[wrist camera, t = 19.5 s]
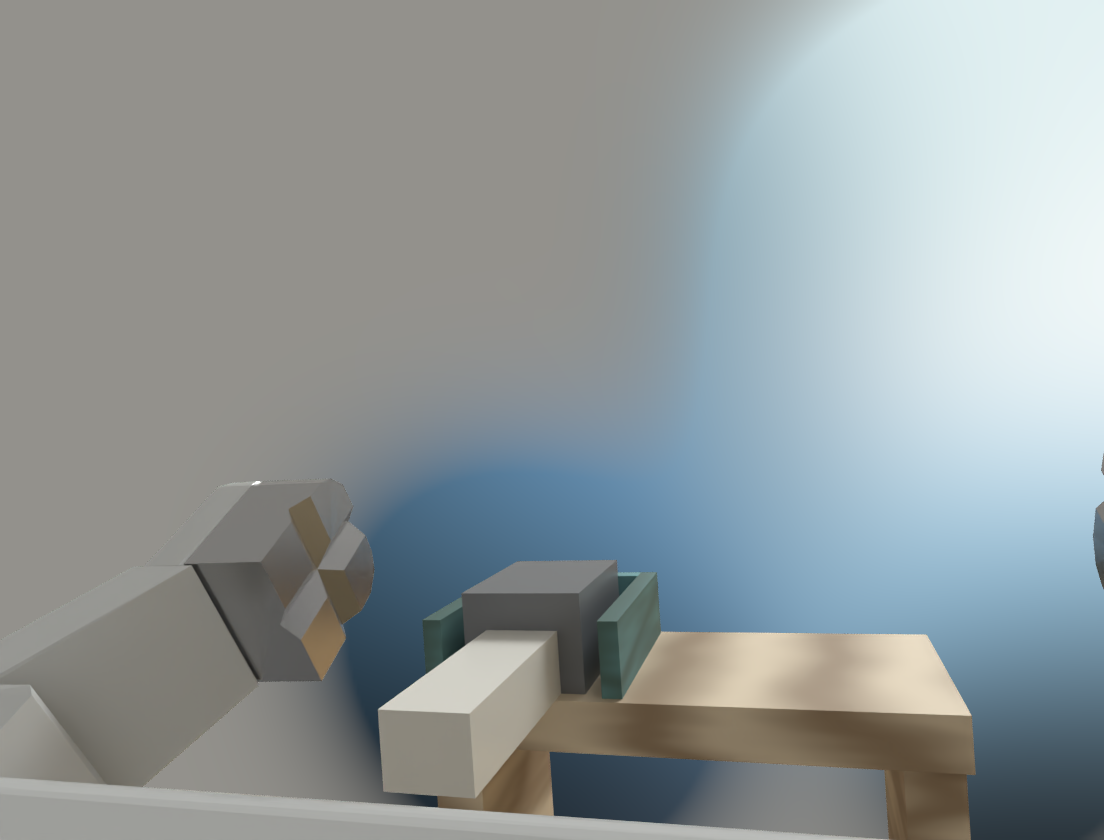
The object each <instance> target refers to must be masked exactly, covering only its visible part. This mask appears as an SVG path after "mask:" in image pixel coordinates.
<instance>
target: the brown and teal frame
mask: <svg viewBox="0 0 1104 840" xmlns="http://www.w3.org/2000/svg"><path fill="white" fill-rule="evenodd" d="M618 586H619V597H618V598H617V600H616V601H615V602H614V603H613V604H612V605H611V606H610V607H609V608H608V610H607V611H606V612H605V613H604V614H603V615H602V616H601V617H600V618H599V619H598V621H597V631H598V646H599V661H600V675H599V677H598V678H597V679H596V681H595V682H594V683H593V685H592V686H591V687H590V689H589V690H588V692H587V693H586V694H560V696H559V697H558V698H557V699H556V700H555V702H554V703H553V704H552V705H551V707H550V708H549V709H548V710H547V711H546V713H545V714H544V715H543V716H542V718H541V719H540V720H539V721H538V722H537V724H536V725H535V726H534V727H533V729H532V730H531V731H530V732H529V733H528V735H527V736H526V737H525V738H524V740H523V741H522V742H521V743H520V744H519V746H518V747H517V748H516V749H515V751H514V752H513V753H512V754H511V755H510V757H509V758H508V759H507V760H506V762H505V763H504V764H503V765H502V767H501V768H500V769H499V770H498V771H497V773H496V774H495V775H494V776H493V778H492V779H491V780H490V781H489V782H488V784H487V785H486V786H485V787H484V789H483V790H482V791H481V792H480V793H479V795H478V796H477V797H476V798H475V799H474V798H461V797H448V796H438V808H448V809H462V810H476V811H490V812H504V813H519V814H533V815H547V816H554V815H553V800H552V785H551V770H550V755H549V751H550V752H569V753H587V754H605V755H623V756H641V757H659V758H677V759H696V760H715V761H732V762H750V763H769V764H787V765H806V766H825V767H843V768H861V769H878V770H885V785H886V802H887V817H888V832H889V840H971V838H970V823H969V807H968V793H967V777H966V774H969V775H975V761H974V745H973V731H972V716H971V714H970V712H969V710H968V708H967V707H966V705H965V703H964V702H963V700H962V698H961V696H960V694H959V692H958V691H957V689H956V687H955V685H954V683H953V681H952V680H951V678H950V676H949V674H948V672H947V671H946V669H945V667H944V665H943V663H942V662H941V660H940V658H939V656H938V654H937V653H936V651H935V649H934V647H933V646H932V644H931V642H930V641H929V638H928V637H927V635H903V634H895V635H894V634H812V633H810V634H809V633H720V632H719V633H718V632H661V628H660V613H659V598H658V582H657V573H656V572H646V573H645V572H642V573H618ZM423 636H424V651H425V665H426V674H427V673H429V672H430V671H431V670H433V669H434V668H435V667H437V666H438V665H440V664H441V663H442V662H444V661H445V660H446V659H448V658H449V657H450V656H452V655H453V654H455V653H456V652H457V651H459V650H460V649H461V648H463V647H464V646H465V637H464V622H463V608H462V597H461V598H459V599H458V600H456V601H454V602H453V603H451V604H449V605H447V606H445V607H444V608H442V609H440V610H439V611H437V612H436V613H434V614H432V615H430V616H429V617H427V618H425V619H423Z"/></svg>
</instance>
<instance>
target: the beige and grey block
mask: <svg viewBox="0 0 1104 840" xmlns="http://www.w3.org/2000/svg"><path fill="white" fill-rule="evenodd" d="M618 597H619V586H618V572H617V560H594V561H593V560H591V561H590V560H589V561H521V562H520V561H518V562H516V563H514V564H512V565H511V566H509V567H507V568H505V569H504V570H502V571H500V572H498V573H497V574H495V575H493V576H492V577H490V578H488V579H486V580H484V581H483V582H481V583H479V584H477V585H475V586H474V587H472V588H470V589H468V590H467V591H465V592H463V593H462V608H463V622H464V637H465V646H464V647H463V648H461V649H460V650H459V651H457V652H456V653H455V654H453V655H452V656H450V657H449V658H448V659H446V660H445V661H444V662H442V663H441V664H440V665H438V666H437V667H435V668H434V669H433V670H431V671H430V672H429V673H427V674H426V675H425V676H423V677H422V678H420V679H419V680H418V681H417V682H415V683H414V684H412V685H411V686H410V687H408V688H407V689H405V690H404V691H403V692H401V693H400V694H399V695H397V696H396V697H394V698H393V699H392V700H390V701H389V702H388V703H386V704H385V705H384V706H382V707H381V708H379V709H378V716H379V730H380V746H381V761H382V775H383V790H384V792H397V793H409V794H422V795H435V796H448V797H461V798H474V799H475V798H476V797H477V796H478V795H479V793H480V792H481V791H482V790H483V789H484V787H485V786H486V785H487V784H488V782H489V781H490V780H491V779H492V778H493V776H494V775H495V774H496V773H497V771H498V770H499V769H500V768H501V767H502V765H503V764H504V763H505V762H506V760H507V759H508V758H509V757H510V755H511V754H512V753H513V752H514V751H515V749H516V748H517V747H518V746H519V744H520V743H521V742H522V741H523V740H524V738H525V737H526V736H527V735H528V733H529V732H530V731H531V730H532V729H533V727H534V726H535V725H536V724H537V722H538V721H539V720H540V719H541V718H542V716H543V715H544V714H545V713H546V711H547V710H548V709H549V708H550V707H551V705H552V704H553V703H554V702H555V700H556V699H557V698H558V697H559V696H560V694H586V693H587V692H588V690H589V689H590V687H591V686H592V685H593V683H594V682H595V681H596V679H597V678H598V677H599V675H600V661H599V646H598V631H597V621H598V619H599V618H600V617H601V616H602V615H603V614H604V613H605V612H606V611H607V610H608V608H609V607H610V606H611V605H612V604H613V603H614V602H615V601H616V600H617V598H618Z"/></svg>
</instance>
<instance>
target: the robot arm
mask: <svg viewBox="0 0 1104 840" xmlns="http://www.w3.org/2000/svg"><path fill="white" fill-rule="evenodd" d="M1101 471H1102V473H1103V475H1104V456H1103V462H1102V468H1101ZM352 509H353V505H352V503H351V501H350V499H349V497H348V494H347V492H346V490H345V488H344V486H343V485H342V484H341V483H338V482H336V481H335V480H332V479H310V480H282V481H263V482H258V481H254V482H240V483H230V484H226V485H223V486H219V487H217V488H216V489H215V491H213V492H212V494H211V495H210V496H209V497H208V498H207V499H206V500H205V501H204V502H203V503H202V504H201V505H200V507H199V508H198V509H197V510H196V511H195V512H194V513H193V514H192V515H191V516H190V517H189V518H188V519H187V521H186V522H185V523H184V524H183V525H182V526H181V527H180V528H179V529H178V530H177V531H176V532H175V533H174V534H173V536H172V537H171V538H170V539H169V540H168V541H167V542H166V543H165V544H164V545H163V546H162V547H161V548H160V550H159V551H158V552H157V553H156V554H155V555H154V556H153V557H152V558H151V559H150V560H149V562H148V563H147V564H146V565H145V566H140V567H132V568H130V569H128V570H127V571H125V572H123V573H121V574H119V575H117V576H116V577H114V578H112V579H111V580H108V581H107V582H105V583H103V584H101V585H99V586H97V587H96V588H94V589H92V590H90V591H88V592H87V593H85V594H83V595H81V596H79V597H77V598H76V599H74V600H72V601H70V602H69V603H67V604H65V605H63V606H61V607H59V608H58V609H56V610H54V611H52V612H50V613H48V614H47V615H45V616H43V617H41V618H39V619H37V620H36V621H34V622H32V623H31V624H28V625H26V626H25V627H23V628H21V629H19V630H17V631H16V632H14V633H12V634H10V635H8V636H7V637H5V638H3V639H1V640H0V840H886V839H872V838H859V837H844V836H831V835H816V834H802V833H788V832H774V831H760V830H745V829H731V828H717V827H703V826H689V825H675V824H674V825H673V824H661V823H647V822H631V821H618V820H603V819H589V818H574V817H561V816H547V815H533V814H519V813H504V812H490V811H476V810H462V809H448V808H433V807H419V806H405V805H391V804H376V803H362V802H348V801H334V800H320V799H305V798H291V797H277V796H263V795H262V796H261V795H248V794H233V793H220V792H205V791H192V790H176V789H162V788H149V787H143V786H144V785H145V784H146V783H147V782H149V781H150V780H151V779H152V778H153V777H154V776H155V775H157V774H158V773H159V772H160V771H161V770H162V769H163V768H165V767H166V766H167V765H168V764H169V763H170V762H171V761H173V760H174V759H175V758H176V757H177V756H178V755H179V754H181V753H182V752H183V751H184V750H185V749H186V748H188V747H189V746H190V745H191V744H192V743H193V742H194V741H196V740H197V739H198V738H199V737H200V736H201V735H202V734H204V733H205V732H206V731H207V730H208V729H209V728H210V727H212V726H213V725H214V724H215V723H216V722H217V721H219V720H220V719H221V718H222V717H223V716H224V715H225V714H227V713H228V712H229V711H230V710H231V709H232V708H234V707H235V706H236V705H237V704H238V703H239V702H240V701H241V700H243V699H244V698H245V697H246V696H247V695H248V694H250V693H251V692H252V691H253V690H254V689H255V688H256V687H258V685H259V683H258V682H268V681H269V682H272V681H273V682H274V681H275V682H276V681H278V682H279V681H322V680H323V678H324V676H325V674H326V673H327V671H328V669H329V667H330V666H331V664H332V662H333V660H334V658H335V657H336V655H337V653H338V651H339V650H340V648H341V646H342V644H343V643H344V641H345V639H346V636H345V632H344V628H343V623H345V622H346V621H347V620H349V619H350V618H352V617H353V616H354V615H356V614H357V613H358V612H360V611H361V610H362V608H363V606H364V605H365V603H366V601H367V599H368V597H369V595H370V593H371V588H372V582H373V576H374V564H373V557H372V551H371V548H370V546H369V543H368V541H367V538H366V536H365V535H364V534H363V533H362V532H361V531H359V530H358V529H357V528H356V527H355V526H353V525H352V524H351V523H350V522H348V520H349V518H350V514H351V511H352ZM1093 540H1094V550H1095V561H1096V566H1097V570H1098V573H1099V577H1100V580H1101V583H1102V586H1103V589H1104V502H1102V503H1101V504H1100V505H1099V506H1098V507H1097V508H1096V513H1095V523H1094V533H1093Z"/></svg>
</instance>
